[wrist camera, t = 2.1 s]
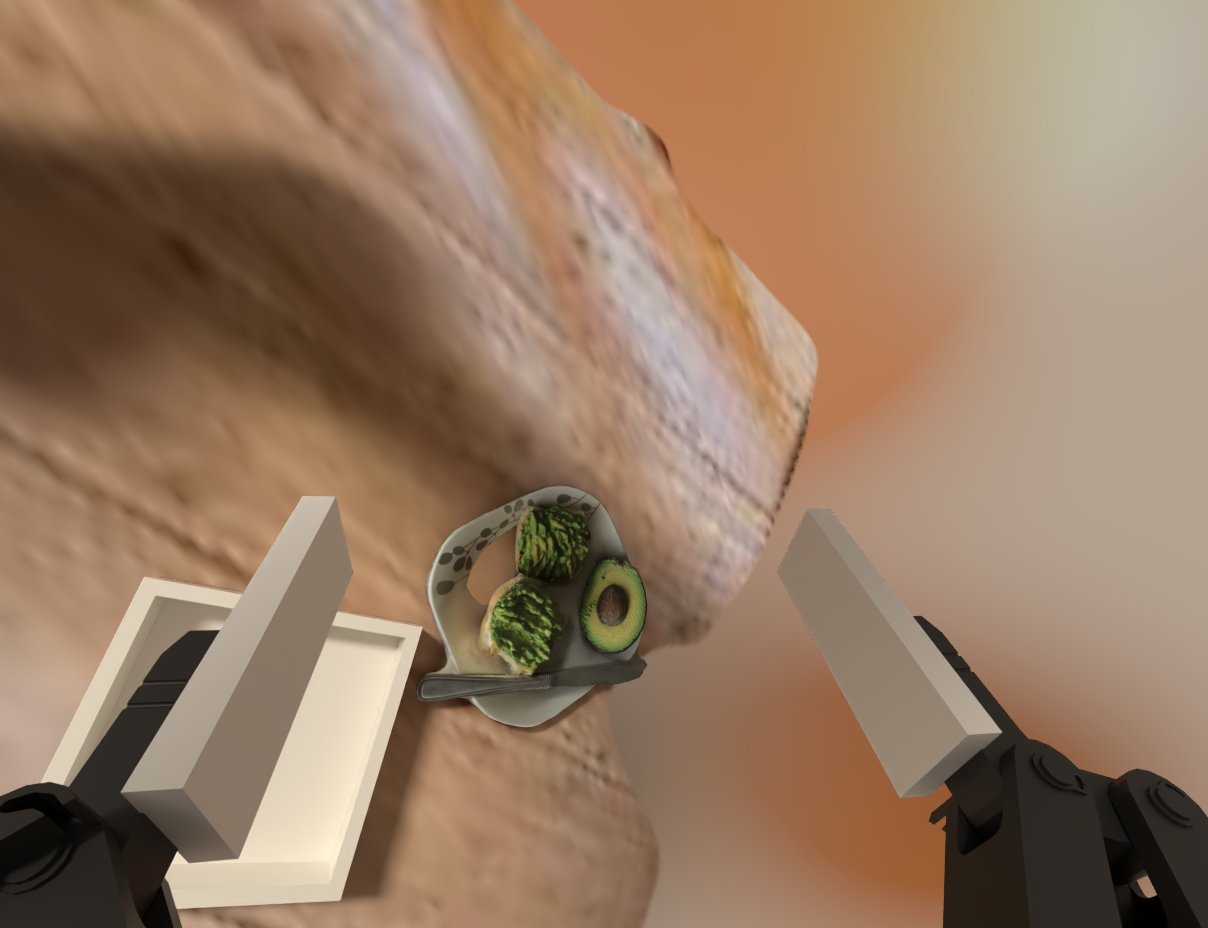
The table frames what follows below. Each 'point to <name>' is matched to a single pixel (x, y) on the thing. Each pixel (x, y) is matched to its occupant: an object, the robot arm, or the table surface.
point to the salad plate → (537, 610)
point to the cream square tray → (307, 761)
